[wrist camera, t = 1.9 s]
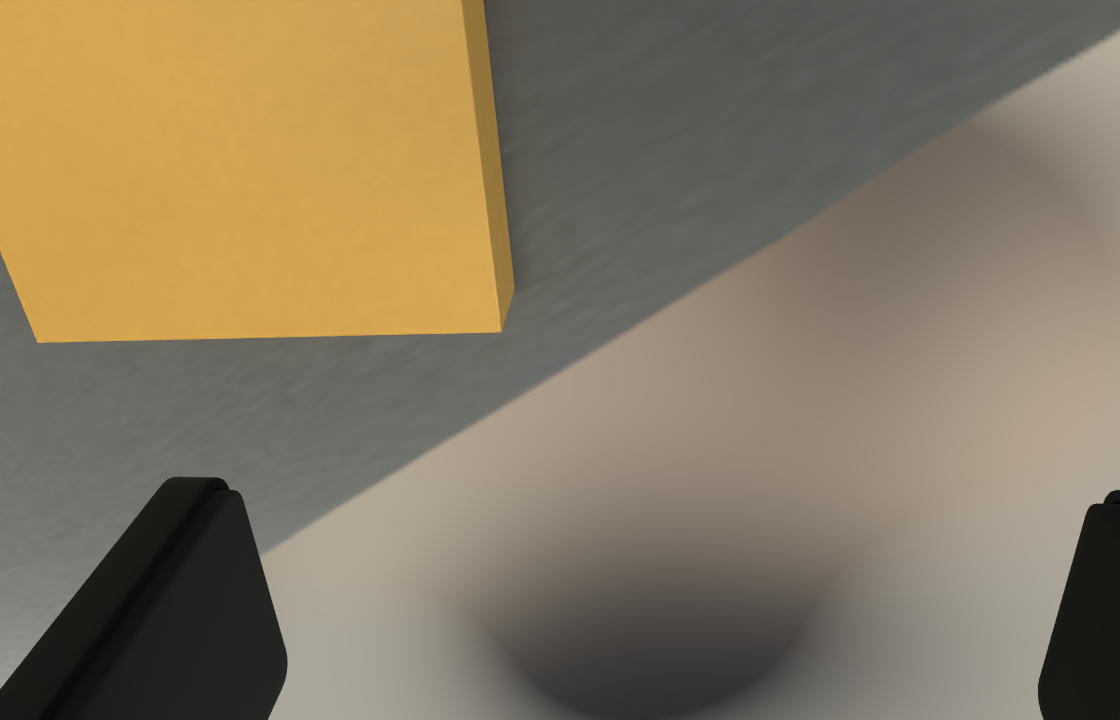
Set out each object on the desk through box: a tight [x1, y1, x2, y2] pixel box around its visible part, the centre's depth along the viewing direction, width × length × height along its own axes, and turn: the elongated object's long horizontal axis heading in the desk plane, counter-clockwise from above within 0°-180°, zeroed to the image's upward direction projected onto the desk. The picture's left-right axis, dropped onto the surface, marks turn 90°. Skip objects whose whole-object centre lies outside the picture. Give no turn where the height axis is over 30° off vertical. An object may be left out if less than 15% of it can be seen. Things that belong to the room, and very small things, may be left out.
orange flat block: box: [0, 0, 515, 343], centre depth 27 cm, size 15×11×3 cm
